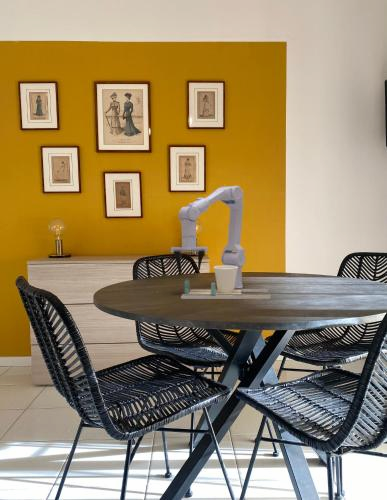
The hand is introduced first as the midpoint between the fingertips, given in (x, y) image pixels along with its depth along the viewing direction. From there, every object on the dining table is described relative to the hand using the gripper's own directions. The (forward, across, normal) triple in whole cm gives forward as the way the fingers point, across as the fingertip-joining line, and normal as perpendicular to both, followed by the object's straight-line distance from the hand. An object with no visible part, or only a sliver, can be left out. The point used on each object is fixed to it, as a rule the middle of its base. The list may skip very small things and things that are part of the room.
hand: (189, 270), depth 203 cm
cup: (+10, +14, 0) cm, 18 cm away
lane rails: (+10, +15, -3) cm, 18 cm away
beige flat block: (+10, +10, -1) cm, 14 cm away
